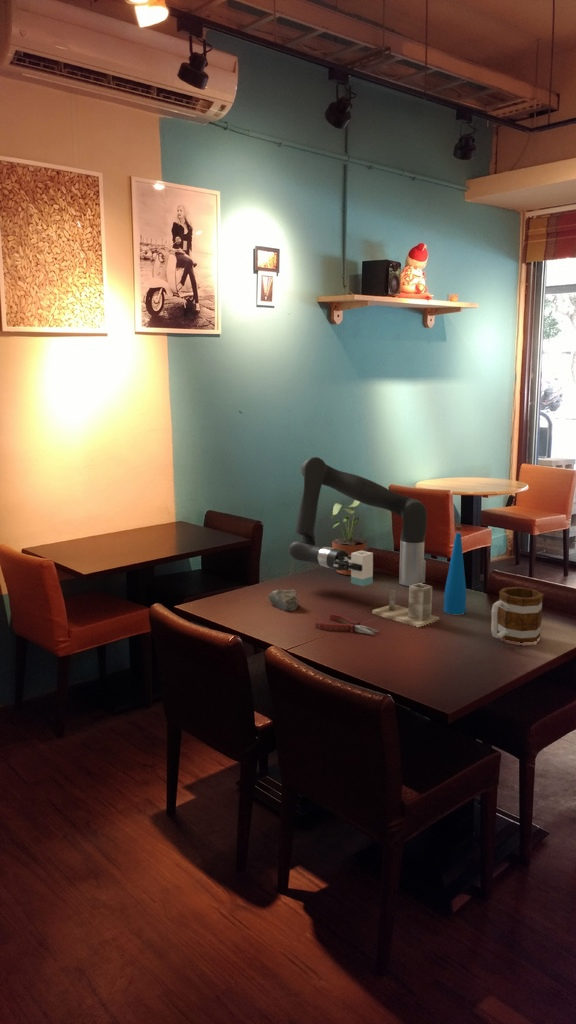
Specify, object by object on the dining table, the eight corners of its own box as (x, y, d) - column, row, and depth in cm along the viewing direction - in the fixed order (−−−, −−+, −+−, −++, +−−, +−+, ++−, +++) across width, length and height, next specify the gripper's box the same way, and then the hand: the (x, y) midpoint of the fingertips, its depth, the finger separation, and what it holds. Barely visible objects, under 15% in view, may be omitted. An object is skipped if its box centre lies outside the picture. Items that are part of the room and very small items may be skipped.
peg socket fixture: (372, 613, 270) (373, 579, 268) (393, 607, 277) (394, 573, 275) (418, 627, 255) (420, 591, 253) (439, 620, 263) (440, 585, 261)
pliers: (368, 641, 244) (368, 633, 243) (313, 629, 255) (313, 621, 255) (385, 631, 253) (385, 623, 253) (331, 620, 264) (332, 612, 264)
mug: (514, 628, 255) (517, 584, 252) (549, 640, 244) (553, 594, 242) (473, 640, 244) (476, 594, 241) (508, 653, 233) (512, 605, 230)
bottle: (454, 616, 267) (459, 529, 262) (439, 610, 273) (443, 525, 268) (469, 613, 271) (474, 527, 266) (454, 607, 277) (459, 523, 272)
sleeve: (351, 583, 278) (351, 553, 276) (361, 580, 282) (361, 550, 279) (362, 586, 274) (362, 555, 272) (372, 583, 278) (372, 553, 276)
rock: (265, 602, 281) (265, 585, 280) (285, 599, 286) (285, 581, 285) (286, 612, 270) (287, 594, 269) (307, 608, 275) (307, 590, 274)
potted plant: (340, 565, 334) (342, 484, 328) (372, 571, 325) (374, 488, 319) (321, 573, 322) (322, 489, 315) (353, 579, 313) (355, 493, 306)
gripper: (318, 551, 281) (353, 559, 269) (346, 545, 291) (381, 552, 279) (319, 571, 283) (353, 580, 271) (346, 564, 292) (380, 573, 280)
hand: (367, 566), depth 275 cm, fingers closed on sleeve, 5 cm apart
